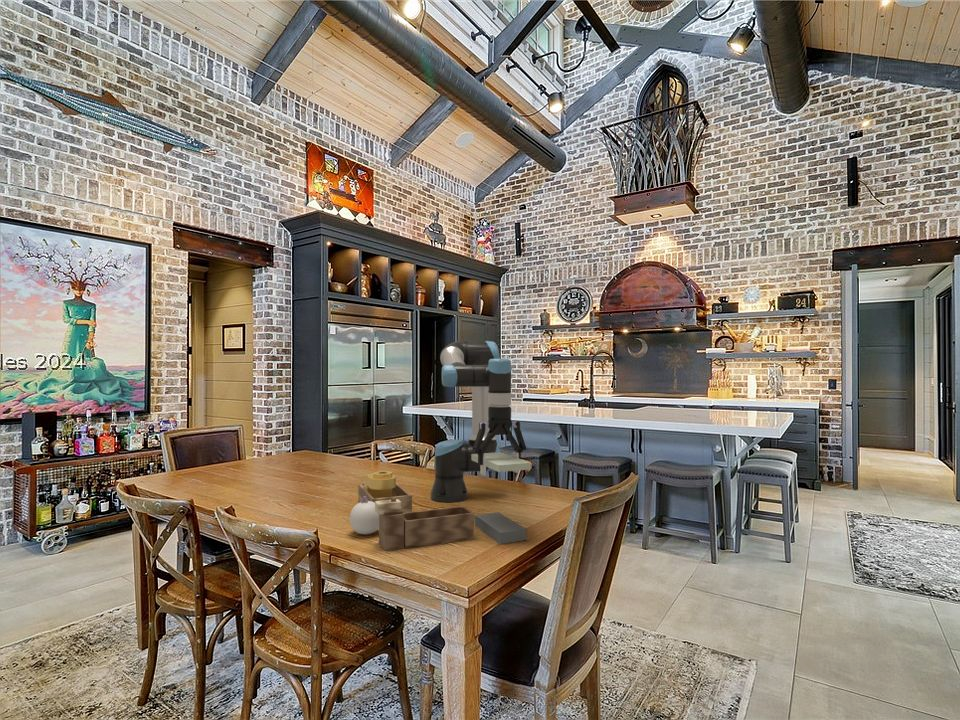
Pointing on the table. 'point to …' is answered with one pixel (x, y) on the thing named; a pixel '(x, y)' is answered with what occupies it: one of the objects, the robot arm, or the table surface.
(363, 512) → the ornament
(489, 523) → the block
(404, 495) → the box
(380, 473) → the tan round stepped piece
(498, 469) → the lid
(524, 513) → the table surface
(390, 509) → the beige notched block
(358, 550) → the table surface
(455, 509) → the toolbox
